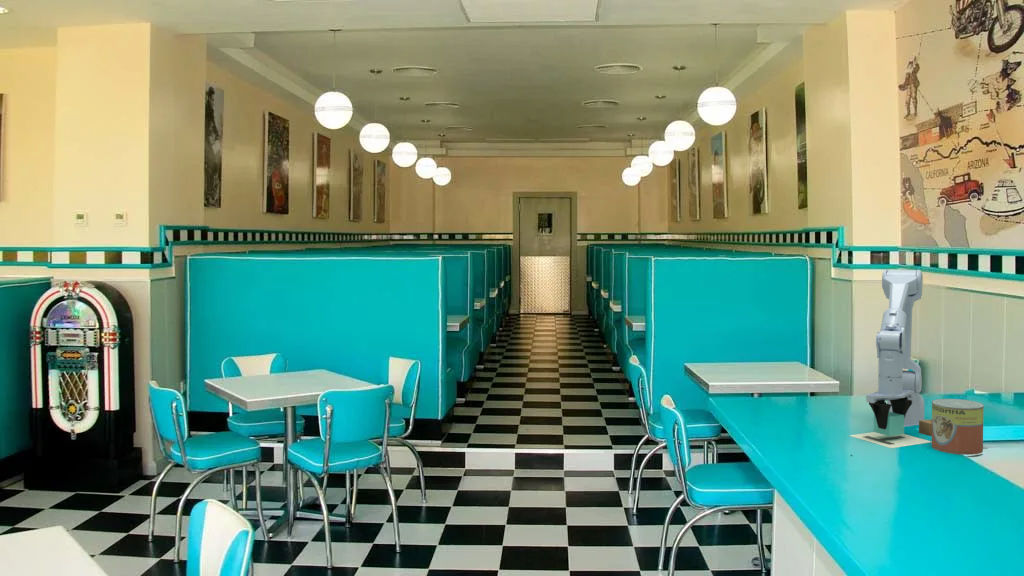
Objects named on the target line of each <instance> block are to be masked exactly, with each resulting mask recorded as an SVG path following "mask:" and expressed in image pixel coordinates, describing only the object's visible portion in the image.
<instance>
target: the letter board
mask: <svg viewBox="0 0 1024 576" xmlns="http://www.w3.org/2000/svg"><path fill="white" fill-rule="evenodd" d="M848 436H849V437H852V438H855V439H858V440H862V441H866V442H869V443H873V444H877V445H879V446H882V447H886V448H888V449H895V448H901V447H907V446H908V447H909V446H914V445H922V444H928V443H929V444H930V443H932V440H931V441H930V440H927V439H924V438H920V437H916V436H913V435H909V434H905V433H904V434H901V435H894V436H887V435H883V434H880V433H876V432H874V431H871V432H866V433H865V432H864V433H858V434H850V435H848Z"/></svg>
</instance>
